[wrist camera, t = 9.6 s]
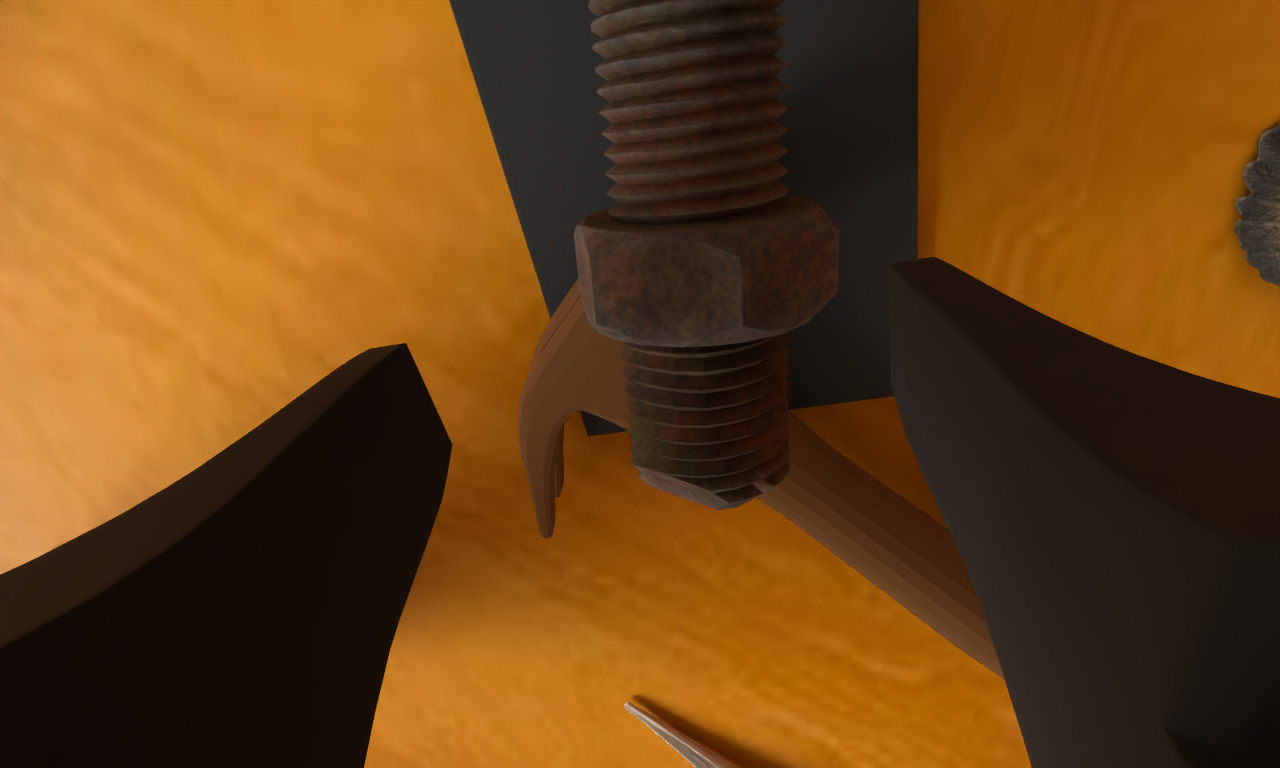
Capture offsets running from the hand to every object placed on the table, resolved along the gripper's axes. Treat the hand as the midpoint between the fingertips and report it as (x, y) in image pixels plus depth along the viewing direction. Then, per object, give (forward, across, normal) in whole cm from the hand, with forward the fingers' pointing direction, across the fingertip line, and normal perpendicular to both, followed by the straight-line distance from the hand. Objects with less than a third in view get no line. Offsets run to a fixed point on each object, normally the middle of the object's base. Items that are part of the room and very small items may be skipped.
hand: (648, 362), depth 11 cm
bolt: (+6, -2, -2) cm, 7 cm away
